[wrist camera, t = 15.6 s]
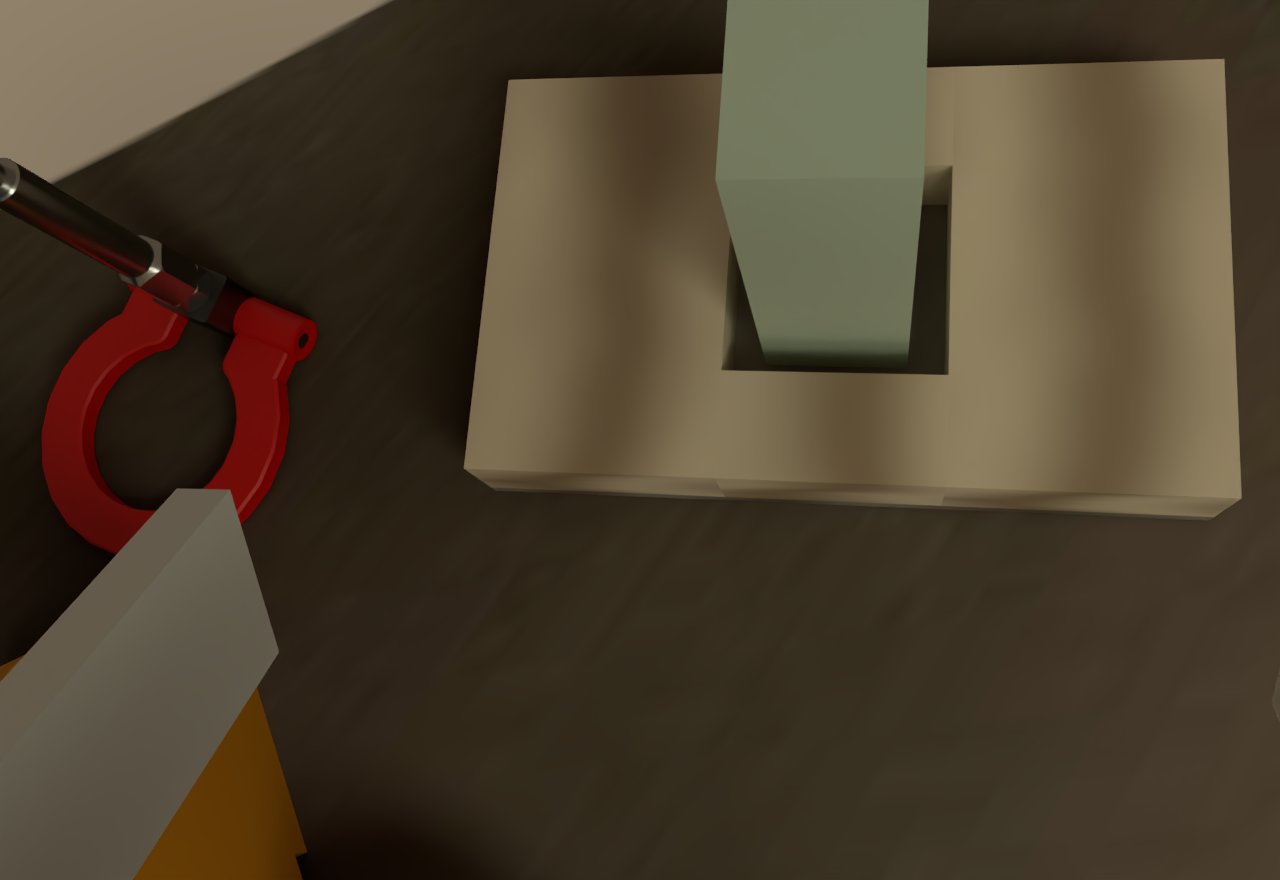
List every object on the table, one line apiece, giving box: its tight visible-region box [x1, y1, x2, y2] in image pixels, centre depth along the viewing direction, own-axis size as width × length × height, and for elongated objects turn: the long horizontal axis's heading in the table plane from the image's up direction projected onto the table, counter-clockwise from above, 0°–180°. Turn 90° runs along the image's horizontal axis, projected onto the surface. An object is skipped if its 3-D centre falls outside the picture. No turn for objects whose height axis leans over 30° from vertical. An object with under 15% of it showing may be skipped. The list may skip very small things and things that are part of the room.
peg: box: [715, 0, 929, 368], centre depth 29 cm, size 4×4×12 cm
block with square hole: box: [464, 59, 1241, 521], centre depth 34 cm, size 20×12×3 cm, turn 85°
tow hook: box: [0, 158, 318, 555], centre depth 33 cm, size 8×13×9 cm
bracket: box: [0, 655, 307, 880], centre depth 30 cm, size 11×7×12 cm, turn 23°
